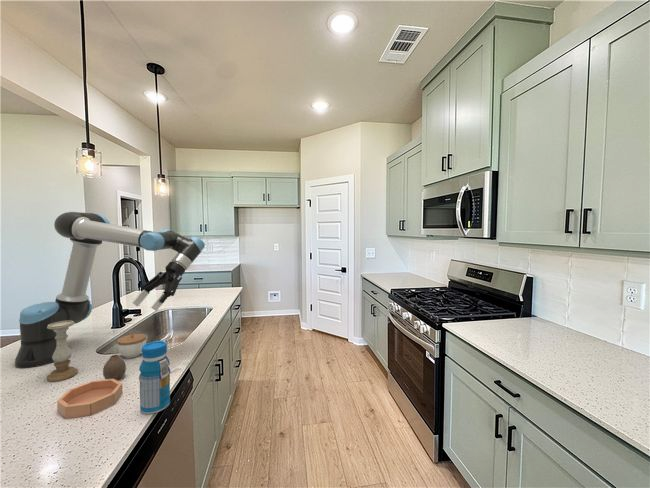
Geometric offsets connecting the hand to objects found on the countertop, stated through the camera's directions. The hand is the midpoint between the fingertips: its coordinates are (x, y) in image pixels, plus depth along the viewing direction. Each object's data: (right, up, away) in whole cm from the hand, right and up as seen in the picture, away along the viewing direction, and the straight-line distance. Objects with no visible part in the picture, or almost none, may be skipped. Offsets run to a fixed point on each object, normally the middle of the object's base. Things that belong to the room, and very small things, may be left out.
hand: (143, 306), depth 114 cm
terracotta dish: (-2, -26, -22) cm, 34 cm away
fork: (+12, -26, -4) cm, 29 cm away
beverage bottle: (+19, -26, -24) cm, 41 cm away
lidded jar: (-13, -24, +12) cm, 30 cm away
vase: (-6, -25, -8) cm, 27 cm away
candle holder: (-27, -25, -7) cm, 37 cm away
